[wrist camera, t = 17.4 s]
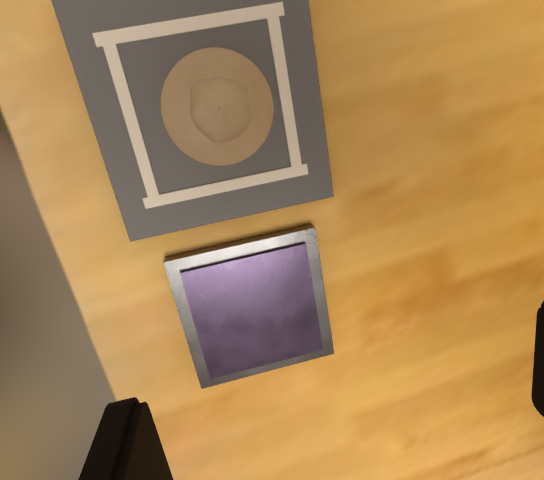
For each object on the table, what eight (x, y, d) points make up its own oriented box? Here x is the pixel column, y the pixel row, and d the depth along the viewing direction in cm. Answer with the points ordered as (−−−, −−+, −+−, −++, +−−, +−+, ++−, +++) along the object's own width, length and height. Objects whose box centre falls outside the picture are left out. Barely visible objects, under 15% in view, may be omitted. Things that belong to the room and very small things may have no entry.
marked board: (300, -37, 25) (303, -42, 25) (331, 194, 31) (334, 196, 30) (54, 1, 24) (49, -2, 23) (131, 239, 29) (129, 242, 28)
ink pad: (311, 223, 31) (316, 229, 30) (330, 345, 35) (335, 356, 33) (164, 257, 30) (162, 264, 28) (201, 379, 34) (201, 391, 32)
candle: (156, 108, 26) (129, 101, 16) (215, 52, 25) (221, 11, 16) (213, 168, 28) (217, 193, 18) (268, 116, 27) (302, 114, 18)
